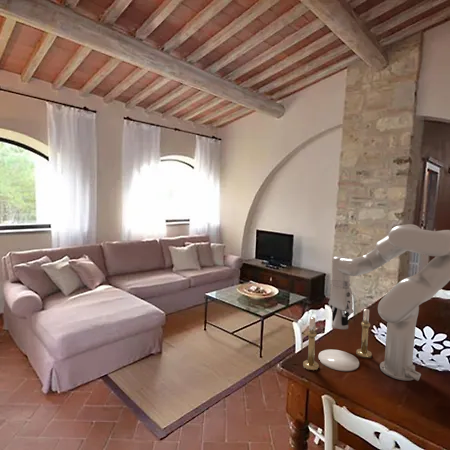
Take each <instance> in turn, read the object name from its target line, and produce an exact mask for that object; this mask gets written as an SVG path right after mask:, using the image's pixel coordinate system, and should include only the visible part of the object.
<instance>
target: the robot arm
mask: <svg viewBox="0 0 450 450" xmlns="http://www.w3.org/2000/svg"><path fill="white" fill-rule="evenodd" d="M406 252H411V253H415V254H420V255H425V256H429V257H434V258H432V259H431V260H430V261H429V262H427V264H426V265H425V266H424V267H423V268H422V269H421V270H419V271H418V272H417V273H416V274H414V275H410V276H408V277H405V278H402V279H401V280H400V281H399V282H397V284H396V285H394V286H393V287H392V288H391V290H389V291H388V292H387V293H386V295H384V296H383V297H382V298H381V300H379V302H378V304H377V312H378V315H379V316H380V318H381V319H382V320H383V321H385V322H387V323H386V332H385V333H386V336H385V351H384V361H382V362H380V364H379V369H380V371H381V372H382V373H383V374H385V375H386V376H388V377H390V378H392V379H395V380H399V381H404V382H405V381H413V380H415V381H417V382H418V381H419V380H420V378H421V376H422V374H421V372H418V371H416V365H415V364H413V363H414V349H415V348H414V347H415V338H416V337H415V335H416V326H417V322H418V316H419V312H420V311H419V310H420V305H422V304H423V303H425V302H427V301H429V300H431V299H432V298H434V297H435V295H437V293H438V292H439V291H440V290H442V289H443V288H444V287H445V286H446V285H448V283H449V282H450V229H442V230H430V229H429V230H428V229H421V228H420V226H419V225H416V224H413V223H412V224H409V223H408V224H399V225H396V226H394V227H393V228H391V229H390V231H389V233H388V235H386V236H384V237H383V238H382V239H381V238H380V240H378V241H376V244H375V248H374V249H372V250H371V251H369V252H368V253H366V254H364V255H362V256H358V257H353V258H350V257H348V256H345V255H334V256H333V257H332V259H331V285H330V286H331V287H330V293H329V301H328V302H327V303H328V305H329V307H330V309H331V313H332V317H331V318H332V320H331V321H332V322H333V321H334V319H335V316H336V313H337V308H338V309H341V310H342V314H343V317H342V326H345V325H348V326H349V317H350V316H351V315H352V314H353V313H354V309H353V303H354V302H353V301H354V300H353V293H352V292H353V291H352V288H351V287H350V286H351V283H350V278H351V277H357V276H361V275H366V274H368V273H371V272H373V271H374V270H375V271H376V270H377V269H379V268H380V267H382V266H384V265H385V264H387V263H388V262H390V261H392V260H393V259H395V258H397V257H400V256H401V255H403V254H404V253H406Z"/></svg>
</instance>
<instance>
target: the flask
mask: <svg viewBox="0 0 450 450" xmlns="http://www.w3.org/2000/svg"><path fill="white" fill-rule="evenodd" d="M342 317H343V314H342V310H341V309H338V308H337V313H336V316H335V319H334V321H333V320H332V323H331V327H332V328H334V329H339V330H348V329H349V324H348V325H345V326H342Z"/></svg>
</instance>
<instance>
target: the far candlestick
mask: <svg viewBox="0 0 450 450" xmlns="http://www.w3.org/2000/svg"><path fill="white" fill-rule="evenodd" d="M362 318H363V319H362V321H361V322H360V325H361V328H362V329H361V342H360V343H361V346H360V348H358V349H356V352H355V353H356V354H355V355H357V357H359V358H363V359H371V358H372V355H373V354H372V352H371V351H370V350H368V342H369V341H368V340H369V328H370V327H371V323H370V322H369V319H370V309H368V308H364V309H363V315H362Z"/></svg>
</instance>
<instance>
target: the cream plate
mask: <svg viewBox="0 0 450 450" xmlns="http://www.w3.org/2000/svg"><path fill="white" fill-rule="evenodd" d="M317 358H318V360H320V361H319V362H320V363H321V364H322V365H323V366H325V367H326V368H329V369H332V370H335V371H340V372H353V371H355V370H358V368H359V367H360V361H359V359H358V358H357V357H356V356H355V355H353V354H351V353H349V352H346V351H344V350H339V349H324V350H322V351H319V353H318V357H317Z"/></svg>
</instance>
